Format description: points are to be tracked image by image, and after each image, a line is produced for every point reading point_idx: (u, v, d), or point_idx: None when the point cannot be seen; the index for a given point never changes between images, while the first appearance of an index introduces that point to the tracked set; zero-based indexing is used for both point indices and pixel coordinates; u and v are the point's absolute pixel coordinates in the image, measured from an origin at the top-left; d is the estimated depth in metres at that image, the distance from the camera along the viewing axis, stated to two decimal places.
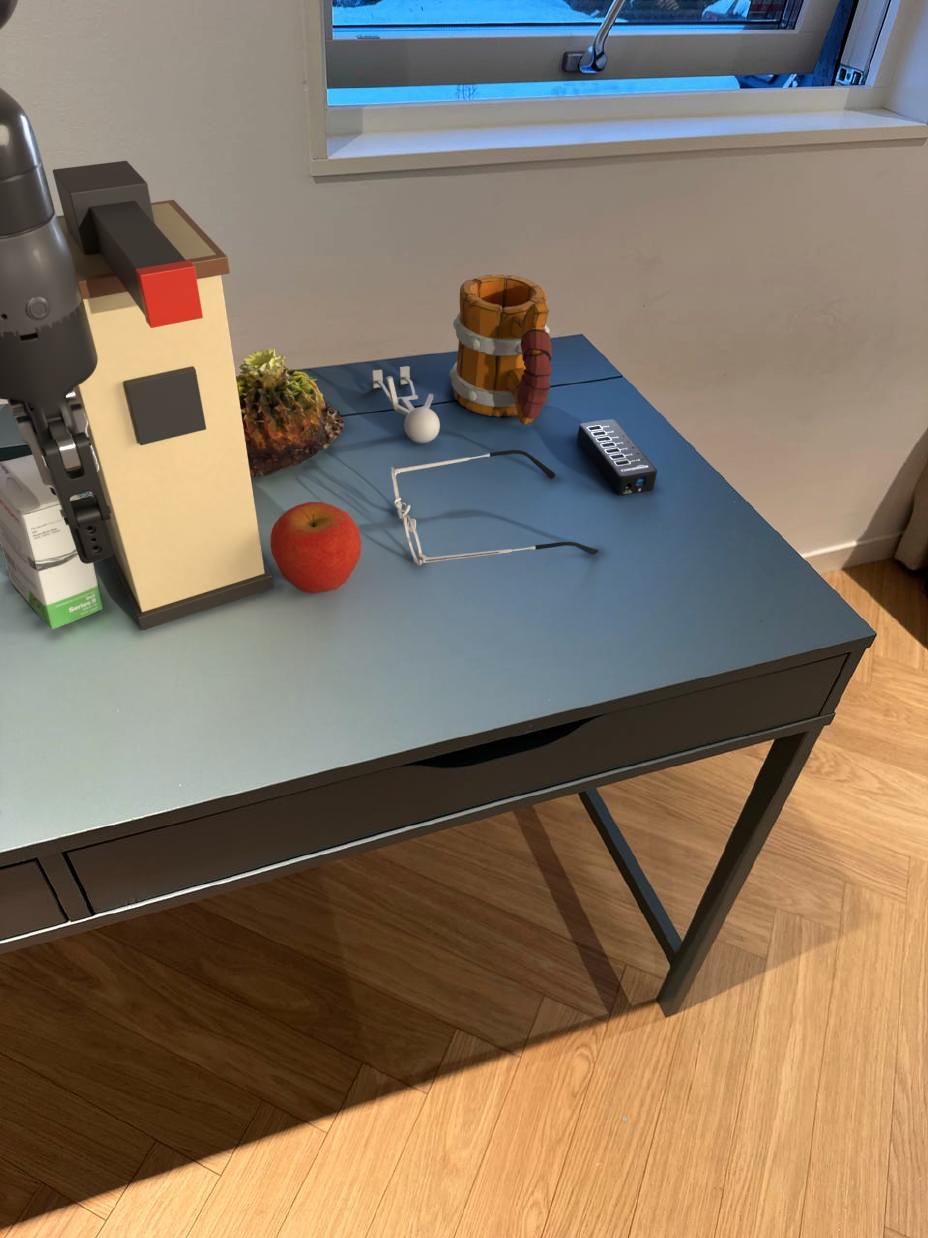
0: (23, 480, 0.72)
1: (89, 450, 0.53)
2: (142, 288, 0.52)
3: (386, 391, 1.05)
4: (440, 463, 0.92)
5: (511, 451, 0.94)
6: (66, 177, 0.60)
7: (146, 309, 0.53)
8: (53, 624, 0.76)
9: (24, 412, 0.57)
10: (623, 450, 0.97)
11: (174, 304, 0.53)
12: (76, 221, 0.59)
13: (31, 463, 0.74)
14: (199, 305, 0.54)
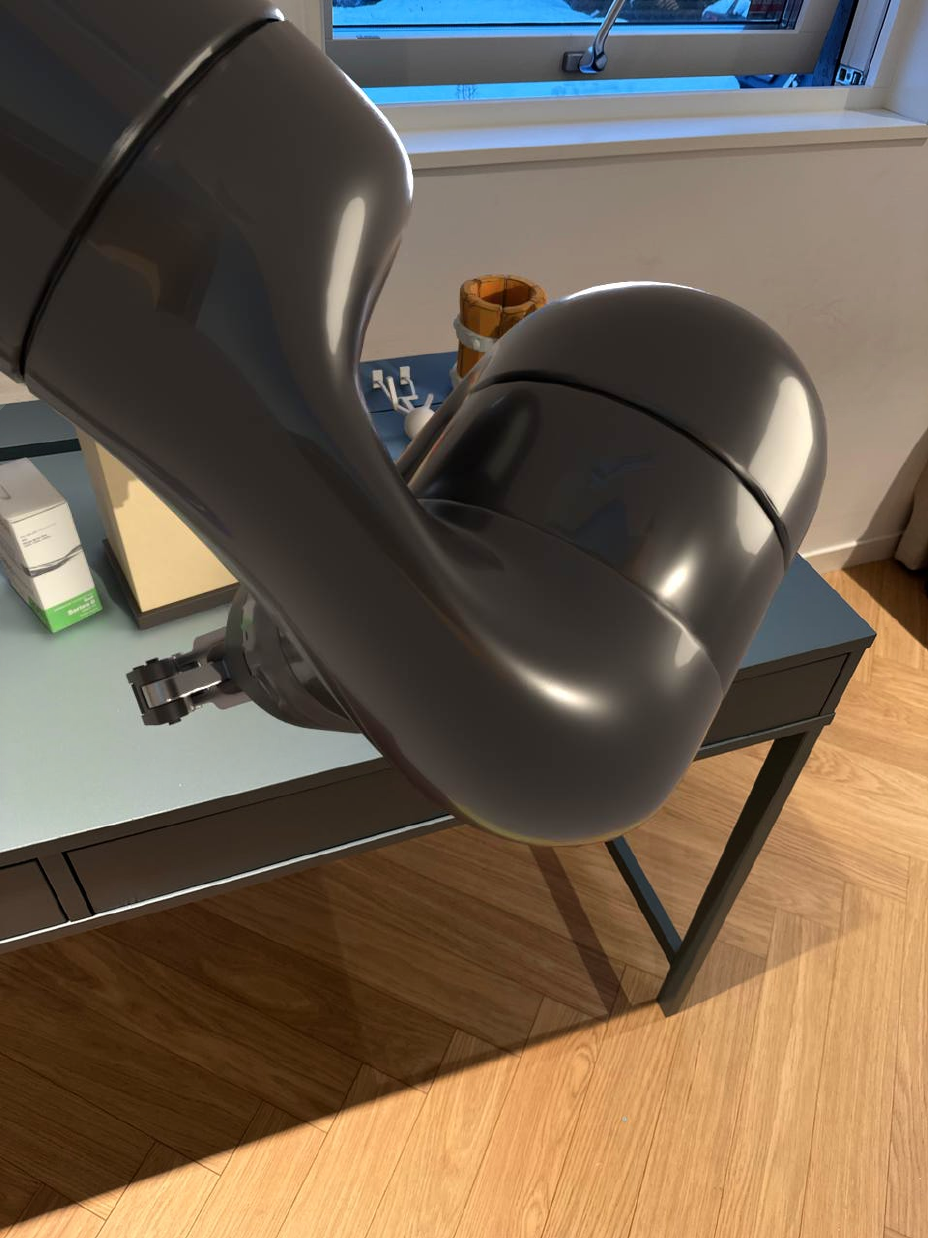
0: (11, 487, 0.72)
1: (157, 723, 0.36)
2: None
3: (386, 391, 1.05)
4: None
5: None
6: None
7: None
8: (54, 628, 0.76)
9: None
10: None
11: None
12: None
13: (19, 468, 0.74)
14: None
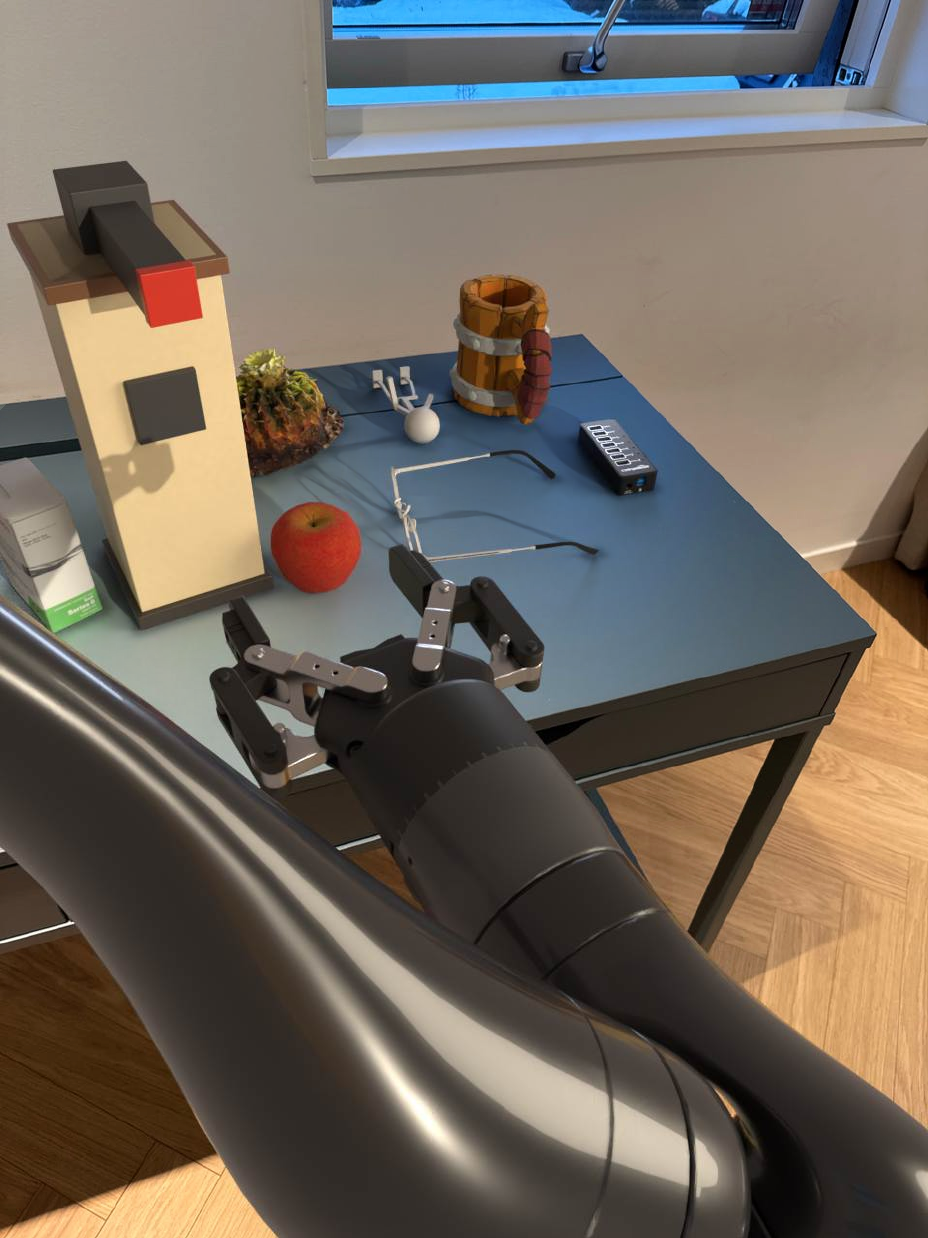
0: (11, 487, 0.72)
1: (261, 787, 0.38)
2: (142, 288, 0.52)
3: (386, 391, 1.05)
4: (440, 463, 0.92)
5: (511, 451, 0.94)
6: (66, 177, 0.60)
7: (146, 309, 0.53)
8: (54, 628, 0.76)
9: (412, 671, 0.39)
10: (623, 450, 0.97)
11: (174, 304, 0.53)
12: (76, 221, 0.59)
13: (19, 468, 0.74)
14: (199, 305, 0.54)
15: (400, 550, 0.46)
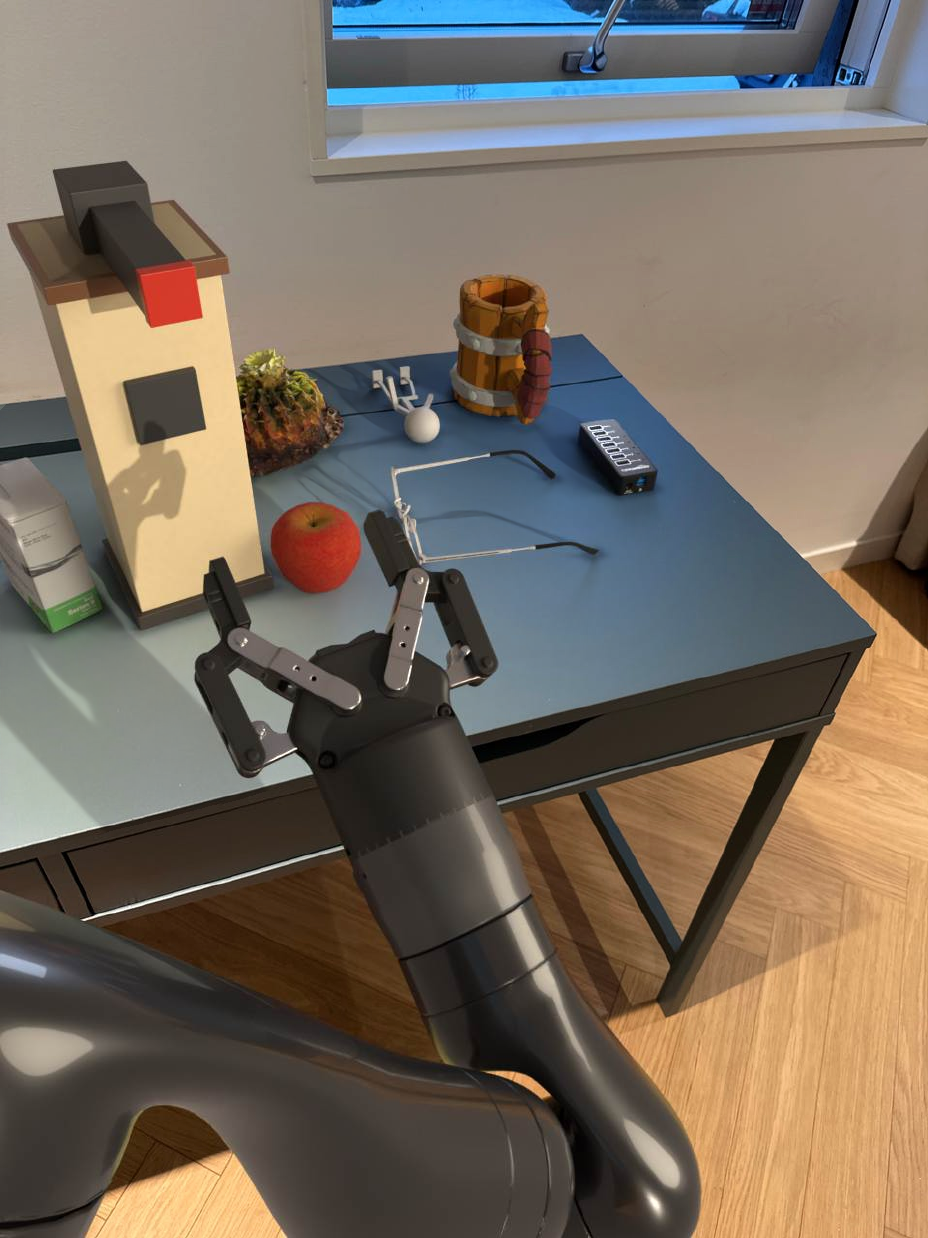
0: (11, 487, 0.72)
1: (235, 766, 0.43)
2: (142, 288, 0.52)
3: (386, 391, 1.05)
4: (440, 463, 0.92)
5: (511, 451, 0.94)
6: (66, 177, 0.60)
7: (146, 309, 0.53)
8: (54, 628, 0.76)
9: (381, 680, 0.44)
10: (624, 449, 0.97)
11: (174, 304, 0.53)
12: (76, 221, 0.59)
13: (19, 468, 0.74)
14: (199, 305, 0.54)
15: (380, 520, 0.47)
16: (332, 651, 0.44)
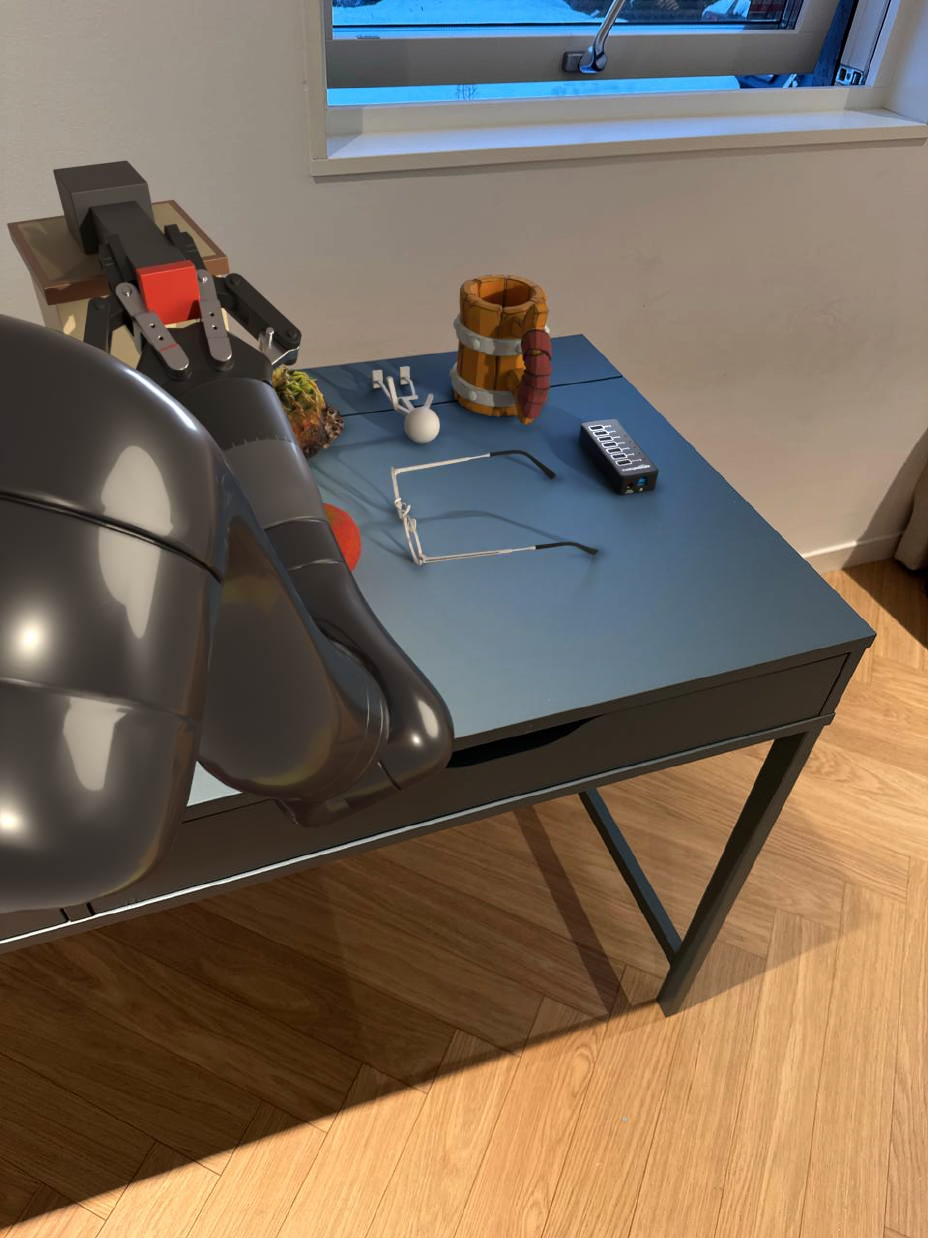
0: None
1: None
2: (142, 288, 0.52)
3: (386, 391, 1.05)
4: (440, 463, 0.92)
5: (511, 451, 0.94)
6: (67, 177, 0.60)
7: None
8: None
9: (210, 360, 0.53)
10: (624, 449, 0.97)
11: (175, 304, 0.53)
12: (76, 221, 0.59)
13: None
14: None
15: (173, 230, 0.55)
16: (169, 332, 0.53)
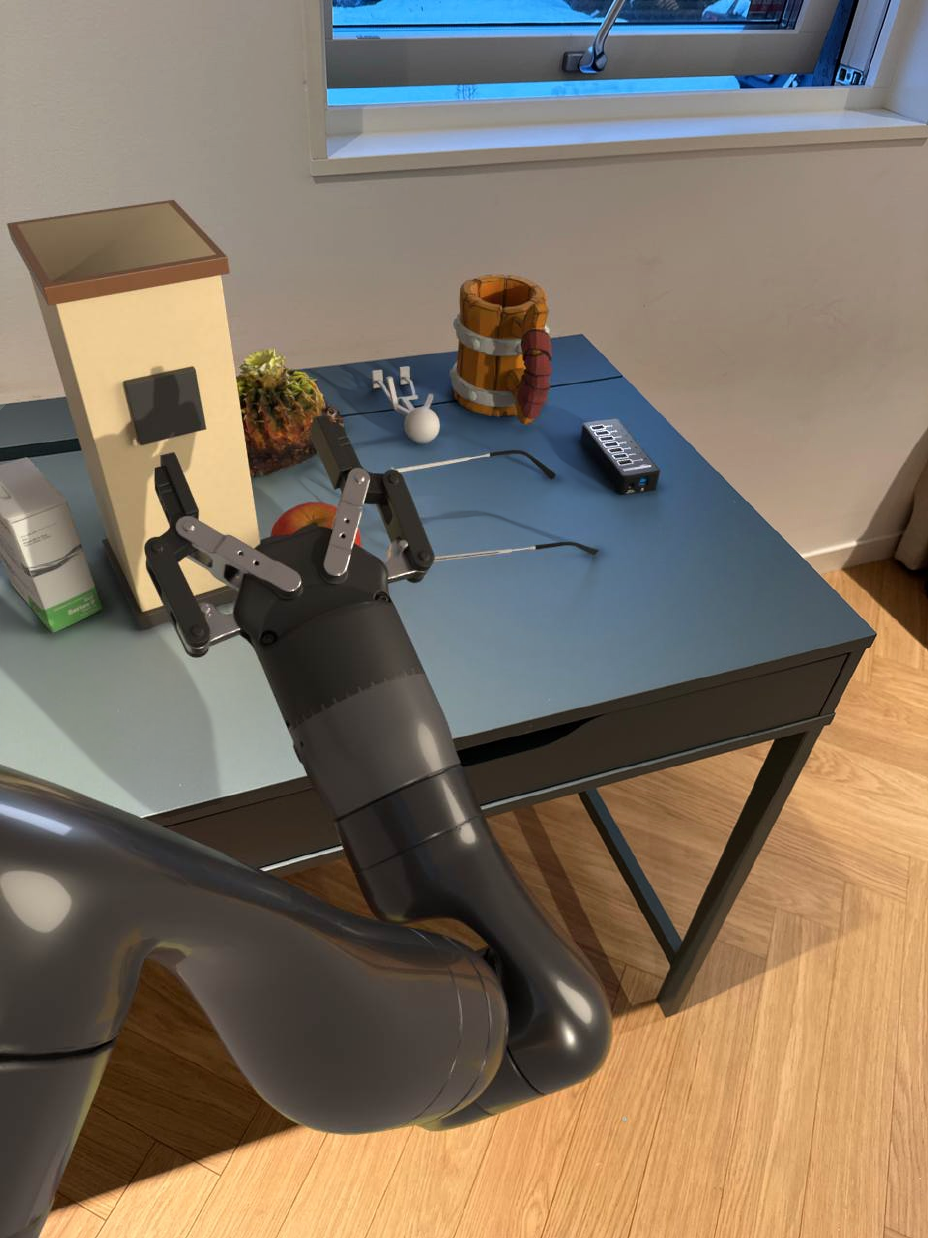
0: (11, 487, 0.72)
1: (183, 646, 0.46)
2: None
3: (386, 391, 1.05)
4: (440, 463, 0.92)
5: (511, 451, 0.94)
6: None
7: None
8: (54, 628, 0.76)
9: (321, 567, 0.47)
10: (626, 449, 0.97)
11: None
12: None
13: (19, 468, 0.74)
14: None
15: (324, 423, 0.50)
16: (276, 540, 0.47)
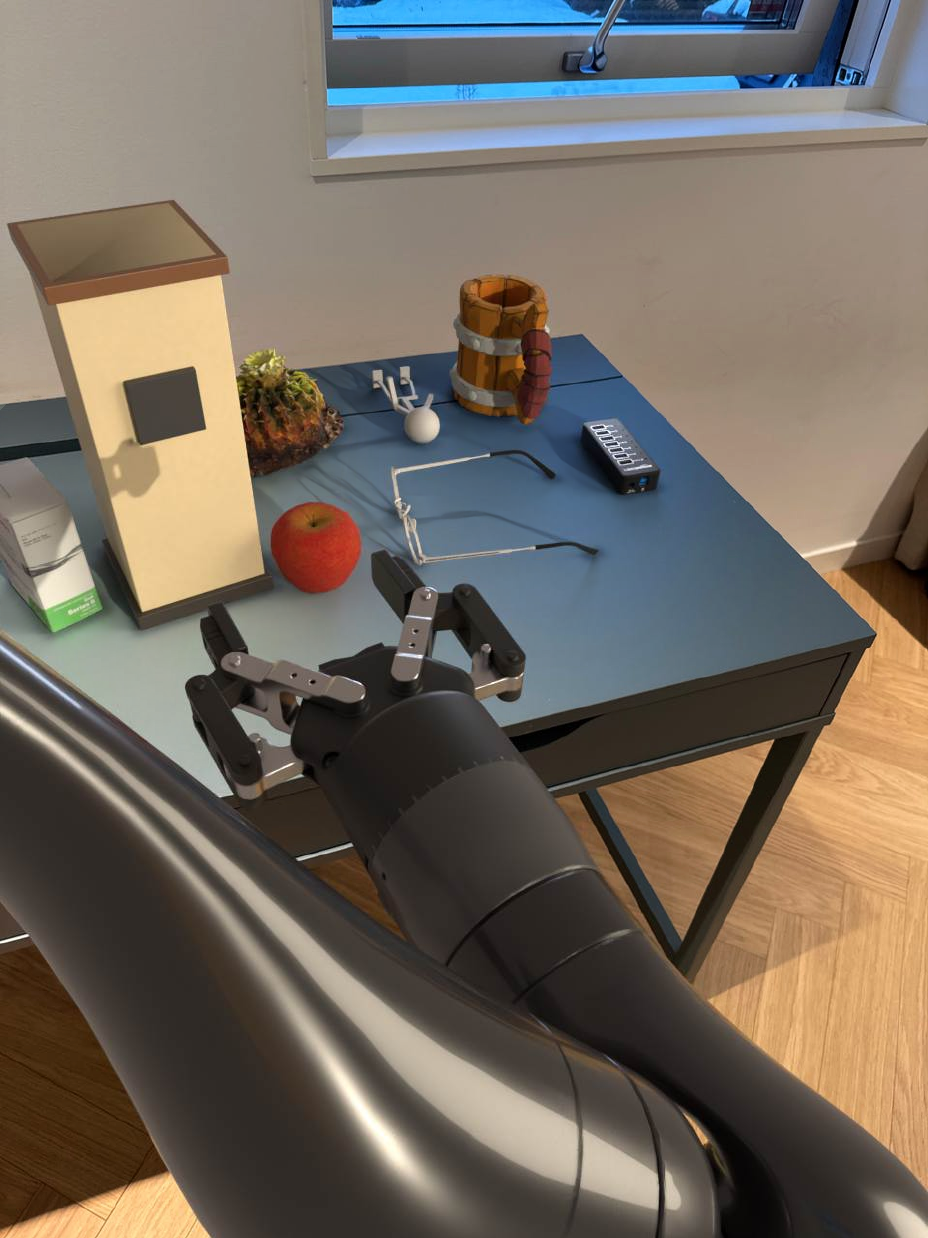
0: (11, 487, 0.72)
1: None
2: None
3: (386, 391, 1.05)
4: (440, 463, 0.92)
5: (511, 451, 0.94)
6: None
7: None
8: (53, 628, 0.76)
9: (391, 681, 0.39)
10: (626, 449, 0.97)
11: None
12: None
13: (19, 468, 0.74)
14: None
15: (382, 556, 0.45)
16: (336, 663, 0.40)
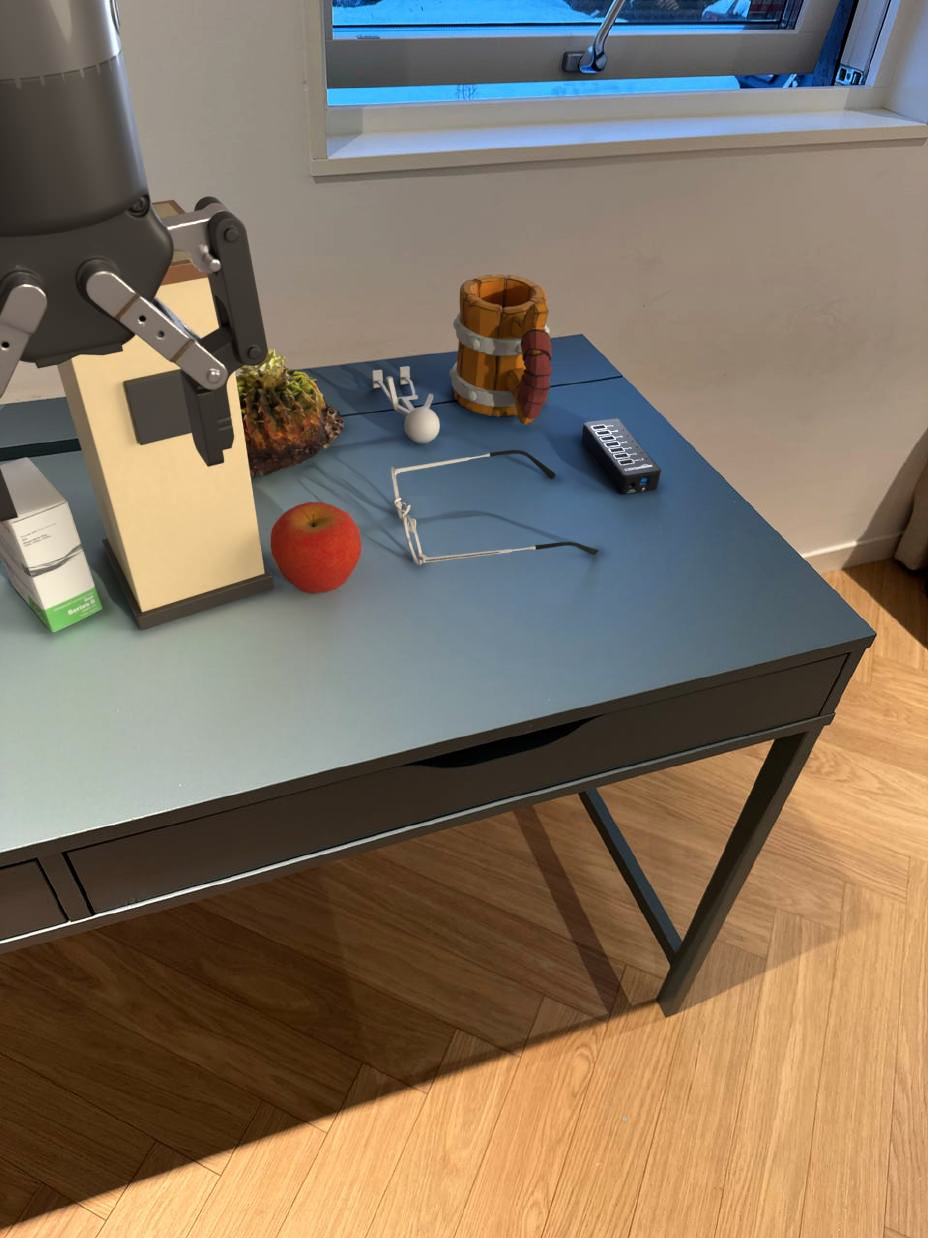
0: (11, 486, 0.72)
1: None
2: None
3: (386, 391, 1.05)
4: (440, 463, 0.92)
5: (511, 451, 0.94)
6: None
7: None
8: (53, 628, 0.76)
9: None
10: (627, 449, 0.97)
11: None
12: None
13: (19, 468, 0.74)
14: None
15: None
16: None
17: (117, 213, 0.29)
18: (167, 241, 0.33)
